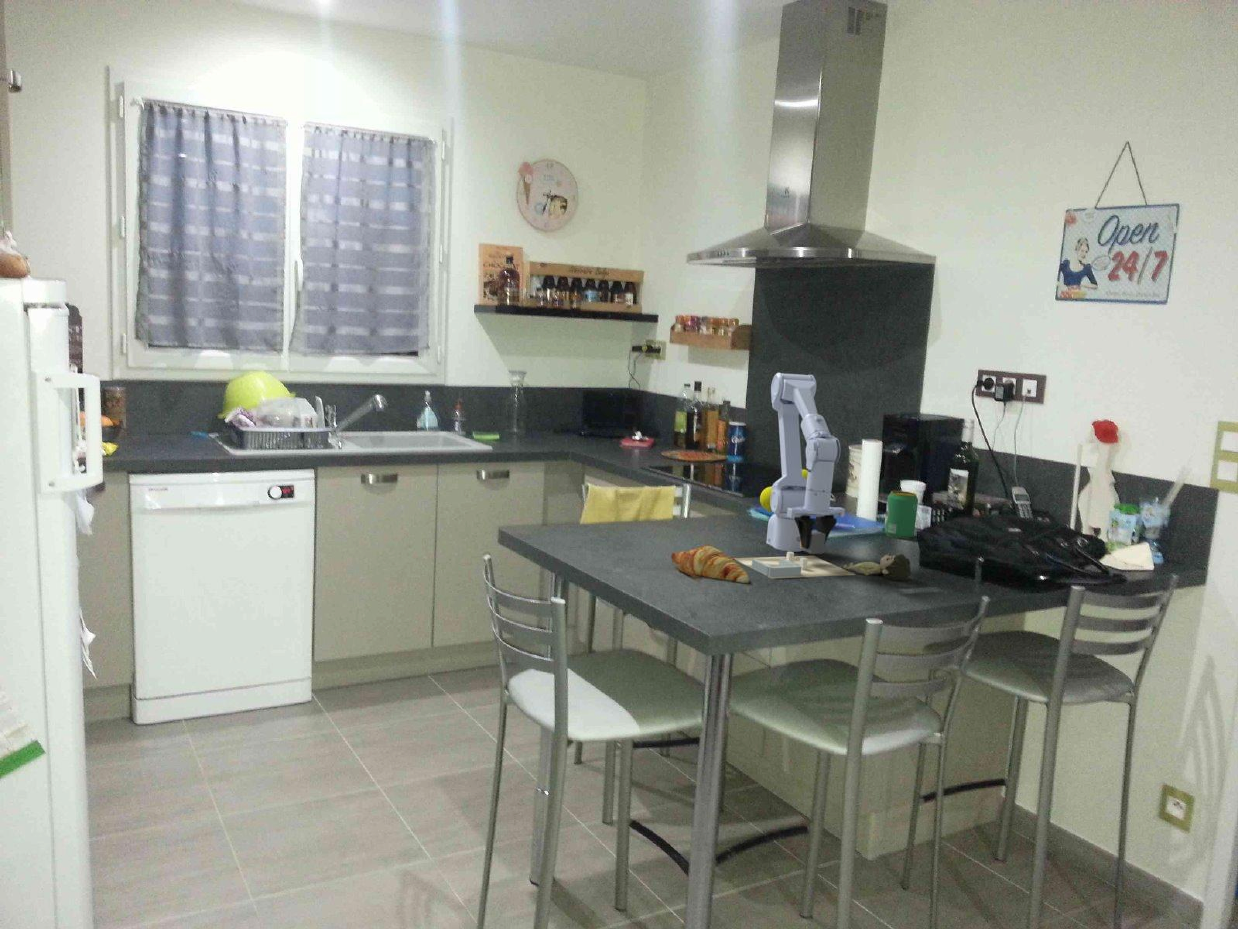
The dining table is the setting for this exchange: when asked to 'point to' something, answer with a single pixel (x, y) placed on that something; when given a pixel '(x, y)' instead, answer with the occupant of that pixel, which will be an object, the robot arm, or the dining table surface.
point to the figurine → (886, 567)
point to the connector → (815, 542)
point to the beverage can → (901, 514)
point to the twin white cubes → (802, 560)
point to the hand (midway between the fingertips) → (812, 547)
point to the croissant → (709, 564)
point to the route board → (814, 565)
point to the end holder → (777, 568)
